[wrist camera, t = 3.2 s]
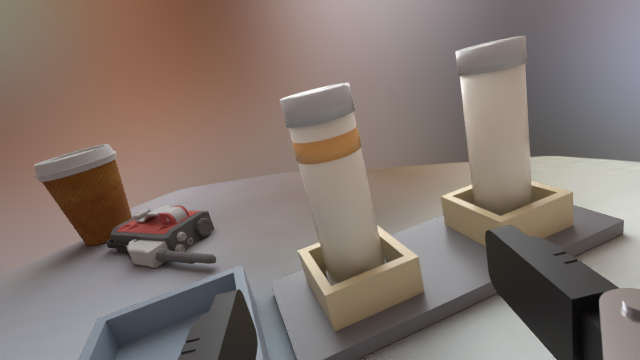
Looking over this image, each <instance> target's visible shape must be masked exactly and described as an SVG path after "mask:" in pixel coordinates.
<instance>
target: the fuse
mask: <svg viewBox="0 0 640 360" xmlns="http://www.w3.org/2000/svg"><path fill="white" fill-rule="evenodd" d="M456 61H457V69H458V75H460V81H461V91H462V99H463V109H464V118H465V126H466V136H467V145H468V154H469V163H470V173H471V182H472V191H473V200H474V205H475V206H478V207H480V208H483V209H485V210H487V211H490V212H492V213H495V214H497V215H499V216H502V215H504V214H507V213H509V212H512V211H514V210H517V209H519V208H521V207H524V206H526V205H529V204H531V203H532V185H531V166H530V148H529V129H528V111H527V93H526V75H525V62H527V58H526V38H525V36H518V37H512V38H507V39H502V40H498V41H493V42H489V43H484V44H480V45H476V46H472V47H468V48H465V49H461V50H458V51H456Z"/></svg>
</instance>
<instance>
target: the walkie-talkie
mask: <svg viewBox="0 0 640 360" xmlns="http://www.w3.org/2000/svg"><path fill="white" fill-rule="evenodd" d="M212 230H214V226H213V224H212V221H211V218H210V216H209V213H208V211H187V210H186V209H185V208H184V207H183V206H173V207H172V206H161V207H159V208H157V209H155V210H153V211H151V212H150V209H149V208H148V209H147V210H145V211H143V212H141V213H139V214H137V215H135V216H133V218H131V219H129V220H128V221H126V222H124V223H122V224H120V225H118V226H116V227H115V228H114V229H113V230H112V232H111V237H112V238H111V239H109V240H108V241H107V242H106V244H107V246H108V247H109V248H116V249H117V250H118V252H119V251H120V252H122V251H123V252H128V253H129V254H130V256H131V259H132V261H133V263H134V264H136V265H143V266H150V267H151V268H157V267H158V266H160V265H161V264H163V263H164V262H169V261H171V262H181V263H190V264H193V263H195V262H197V263H215V262H216V257H215V256H214V255H211V254H199V253H188V252H184V251H185V249H187V248H188V247H190V246H191V245H192V244H194V243H195V242H197V241H198V240H200V239H201V238H202V237H204V236H208V235H209V234H210V233H211V231H212Z"/></svg>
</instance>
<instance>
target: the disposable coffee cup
mask: <svg viewBox="0 0 640 360" xmlns="http://www.w3.org/2000/svg"><path fill="white" fill-rule="evenodd" d="M115 154H116V151H113V150H112V148H111V147H110V146H109V144H103V145H98V146H95V147H90V148H86V149H83V150H79V151H75V152H72V153H68V154H65V155H61V156H59V157H55V158H52V159H49V160H46V161H43V162H40V163H38V164H35V165H34V166H35V171H36V175H35V176H34V177H35V178H38V179H39V181H40V182H43V184H44V185H45V187H46V188H47V190H48V191H49V192H50V194H51V195H52V197H53V198H54V200H55V201H56V202H57V204H58V205H59V207H60V208H61V209H62V211H63V212H64V214H65V215H66V217H67V218H68V219H69V221H70V222H71V224H72V225H73V226H74V228H75V229H76V231H77V232H78V233H79V235H80V236H81V238H82V239H83V241H84V242H85V244H86V245H97V244H101V243H105V242H107V241H108V240H109V239H111V238H112V237H111V232H112V230H113V229H114V228H115V227H116V226H118V225H120V224H122V223H124V222H126V221H128V220H129V219H131V218H132V216H131V212H130V209H129V206H128V202H127V198H126V195H125V192H124V188H123V185H122V181H121V177H120V174H119V171H118V167H117V164H116V160H115V159H116V155H115Z"/></svg>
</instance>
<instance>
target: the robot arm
mask: <svg viewBox="0 0 640 360" xmlns="http://www.w3.org/2000/svg"><path fill="white" fill-rule="evenodd" d="M485 242H486V252H487V262H488V272H489V277H490V280H491V282H492V284H493V286H494V288H495V290H496V291H497V293H498V294H499V295H500V296H501V297H502V298H503V299H504V300H505V302H506V303H507V304H508V305H509V306H510V307H511V308H512V310H513V311H514V312H515V313H516V314H517V315H518V316H519V317H520V319H521V320H522V321H523V322H524V323H525V324H526V325H527V326H528V328H529V329H530V330H531V331H532V332H533V333H534V334H535V336H536V337H537V338H538V339H539V340H540V341H541V342H542V343H543V345H544V346H545V347H546V348H547V349H548V350H549V351H550V352H551V354H552V355H553V356H554V357H555V358H556V359H557V360H640V290H639V289H630V288H618V287H617V286H615V285H614V284H613V283H611V282H610V281H608V280H607V279H605V278H604V277H602V276H601V275H599V274H598V273H596V272H595V271H594V270H592V269H591V268H589V267H588V266H586V265H585V264H583V263H582V262H580V261H579V262H578V261H577V259H576V258H575V257H573V256H572V255H570V254H569V253H566V251H564V250H563V249H562V248H560V247H559V246H557V245H556V244H554V243H553V242H551V241H548V240H545V239H542V238H539V237H536V236H531V237H528V236H527V235H526V234H524V233H523V232H522V231H520V230H519V229H518V228H516V227H515V226H513V225H507V226H503V227H499V228H494V229H490V230H487V231H486V233H485ZM185 342H186V344H184V346H183V348H182V350H181V355H180V356H179V358H178V360H256V355H257V347H258V340H257V333H256V328H255V325H254V323H253V320H252V317H251V314H250V312H249V309H248V306H247V303H246V301H245V298H244V295H243V293H242V291H241V290H239V289H238V290H234V291H230V292H226V293H222V294H217V295H216V296H215V298H214V301H213V303H212V306H211V309H210V312H209V313H207V314H202V315H201V317H200V318H199V319H198V320H197V321H196V322H195V324H194V325H193V326H192V327H191V329H190V331H189V334H188V336H187V338H186V341H185Z"/></svg>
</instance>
